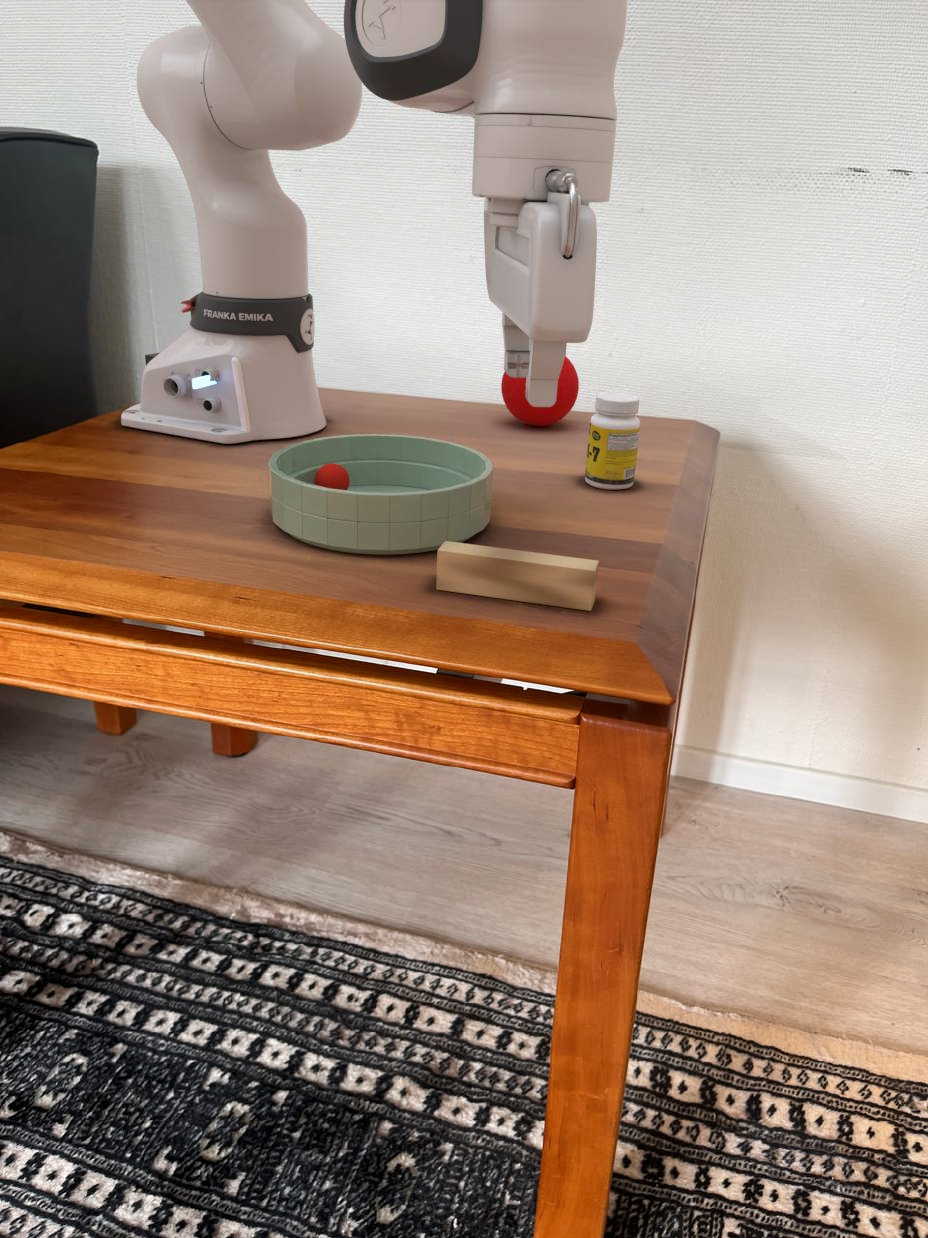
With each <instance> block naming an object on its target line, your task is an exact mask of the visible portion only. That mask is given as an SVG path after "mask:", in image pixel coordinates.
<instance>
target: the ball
mask: <svg viewBox="0 0 928 1238" xmlns="http://www.w3.org/2000/svg"><path fill="white" fill-rule="evenodd" d="M349 484H350V478H349V474H348V472H347V471H346V469H345V468H343V467H342V466H341V465H338V464H335V463H329V464H326V465H324V466H322V467H321V468H320V469H319V470H318V471H317V473H316V476H315V485H317V486H321V487H326V488H330V489H339V490H348V488H349Z"/></svg>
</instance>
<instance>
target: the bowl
mask: <svg viewBox="0 0 928 1238" xmlns="http://www.w3.org/2000/svg"><path fill="white" fill-rule="evenodd" d="M267 463H268V464H267V465H268V487H269V509H270V510H269V511H270V512H269V513H270V516H271V519H272V523H274V524H275V525H276V526H277V527H278V528H279V529H281V530H282V531H283V532H285V533H287V534H288V535H290V536H291V537H292V538H294V539H296V540H299V541H301V542H303V543H306V544H308V545H311V546H315V547H318V548H321V549H327V550H331V551H336V552H342V553H350V554H358V555H359V554H360V555H381V556H385V555H388V556H389V555H390V556H391V555H409V554H419V553H426V552H432V551H437V550H438V549H439V548H440V547H441V545H442V544H443V543H444V542H445V541H450V542H457V543H464V542H466V541H468V540H470V539H471V538H472V537H474V536H475V535H476V534H478V533H480V532H482V531H483V530H485V528H486V527H487V526H488V524H489V523H490V521H491V517H492V516H491V515H492V500H493V499H492V496H493V495H492V494H493V479H494V467H493V462H492V460H491V459H489V457H488V456H486V454H485V453H482V452H480V451H478V450H476V449H474V448H472V447H471V446H470V447H469V446H466V445H463V444H460V443H456V442H453V441H449V440H443V439H438V438H431V437H425V436H417V435H416V436H415V435H406V434H385V433H361V434H358V433H357V434H343V435H333V436H323V437H318V438H313V439H308V440H307V439H306V440H302V441H300V442H296V443H293V444H290V445H287V446H284V447H282V448H281V449H279V450H277V451H276V452H274V453H273V454H272V455H271V457H270V459H269V460H268V461H267ZM329 463H335V464H338V465H341V466H342V467H343V468H345V469H346V471H347V472H348V474H349V478H350V484H349V488H348V490H339V489H330V488H326V487H321V486H317V485H315V476H316V473H317V471H318V470H319V469H320V468H321V467H322V466H324V465H326V464H329Z"/></svg>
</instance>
